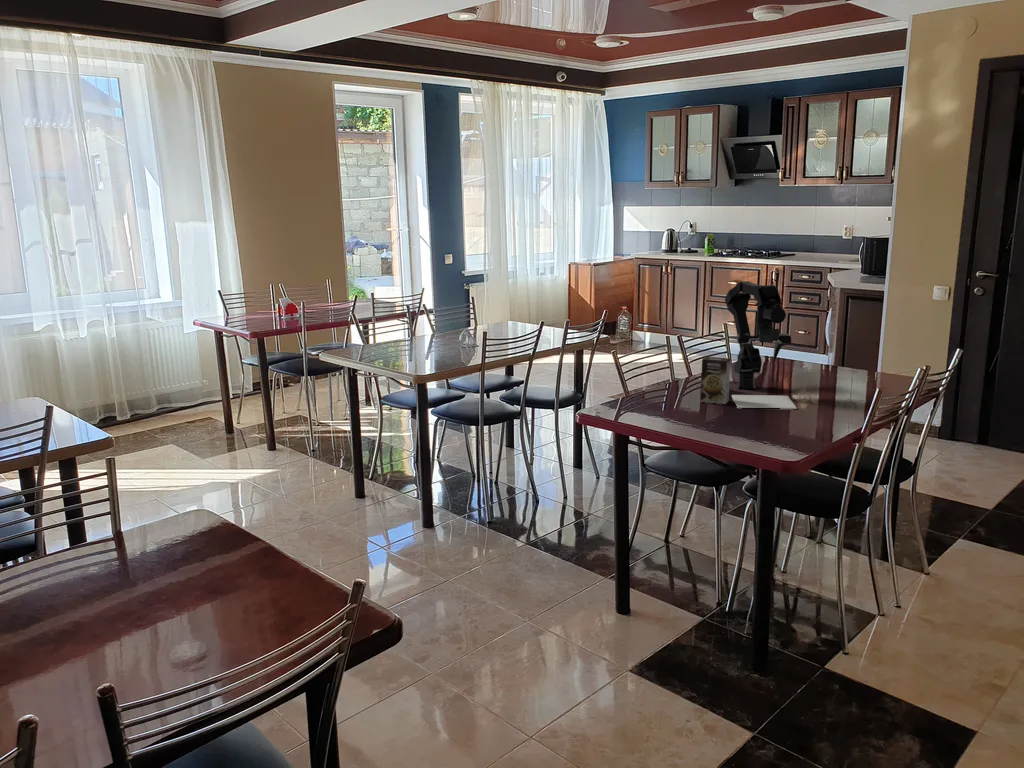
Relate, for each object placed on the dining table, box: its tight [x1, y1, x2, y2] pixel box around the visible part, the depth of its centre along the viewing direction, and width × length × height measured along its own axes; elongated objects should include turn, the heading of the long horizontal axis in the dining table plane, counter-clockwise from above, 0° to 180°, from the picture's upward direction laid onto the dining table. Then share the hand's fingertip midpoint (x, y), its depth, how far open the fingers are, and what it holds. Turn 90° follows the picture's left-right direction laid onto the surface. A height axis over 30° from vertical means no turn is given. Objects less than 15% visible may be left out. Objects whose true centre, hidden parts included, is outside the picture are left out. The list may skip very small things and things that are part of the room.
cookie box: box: [700, 356, 731, 406], centre depth 286 cm, size 9×6×16 cm
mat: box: [731, 394, 797, 410], centre depth 284 cm, size 18×20×1 cm
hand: (762, 361), depth 293 cm, fingers open, 8 cm apart
